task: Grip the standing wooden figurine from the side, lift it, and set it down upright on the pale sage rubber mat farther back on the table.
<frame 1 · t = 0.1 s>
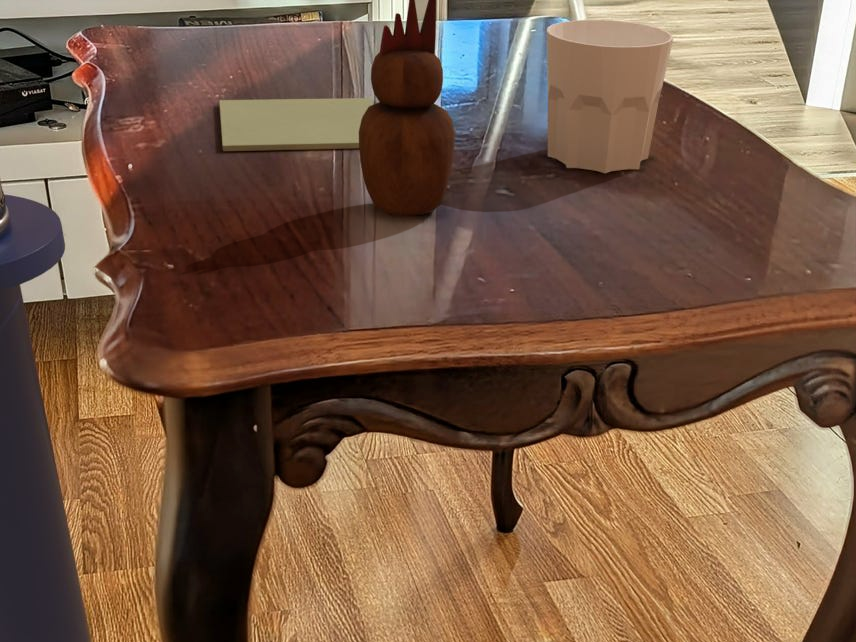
cup: (597, 159, 97), on the table
wooden figurine: (406, 211, 85), on the table
mat: (302, 125, 102), on the table
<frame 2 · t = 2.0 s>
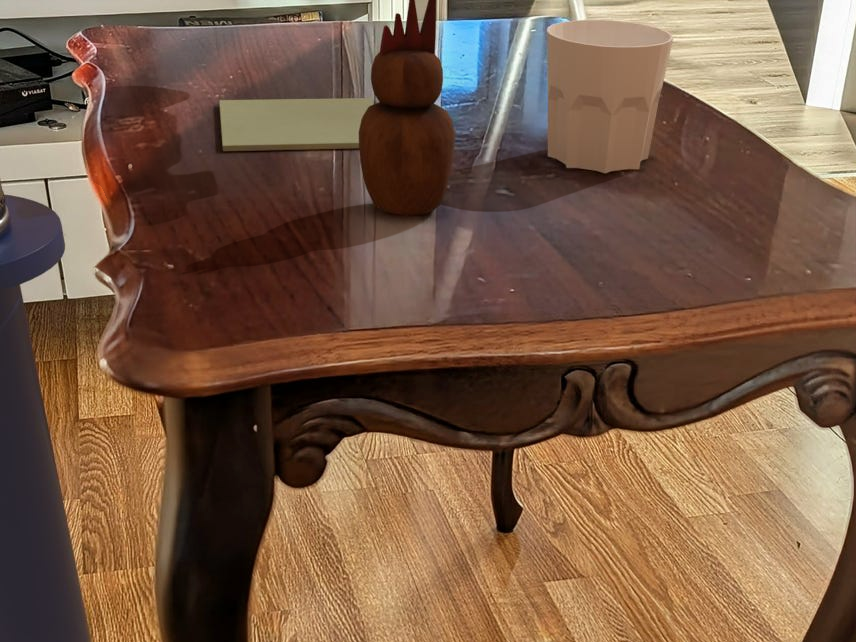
nothing on the table moved.
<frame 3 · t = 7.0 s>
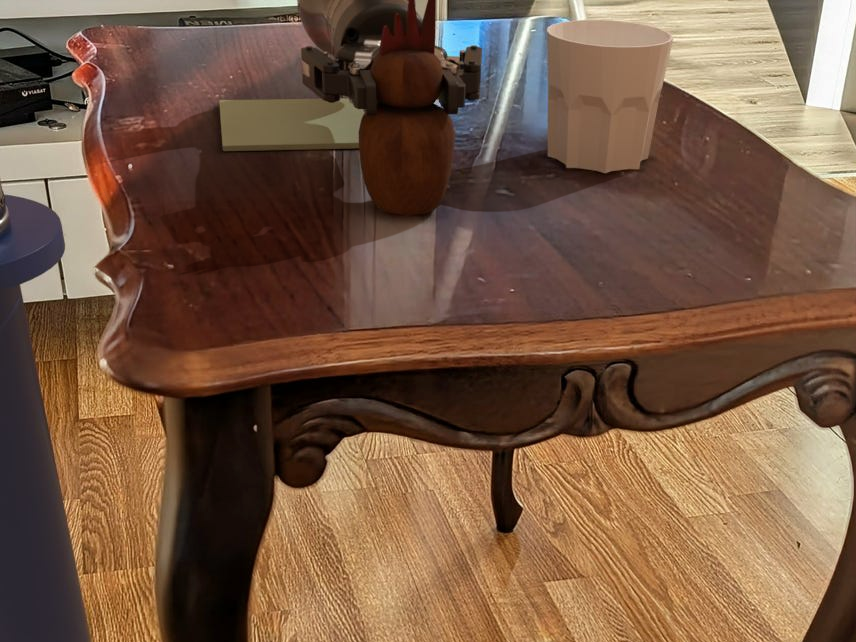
hand: (412, 99, 78), 9 cm above the table, tool horizontal, fingers closed on wooden figurine, 5 cm apart
wooden figurine: (406, 211, 85), on the table, touching gripper
everything else where it was.
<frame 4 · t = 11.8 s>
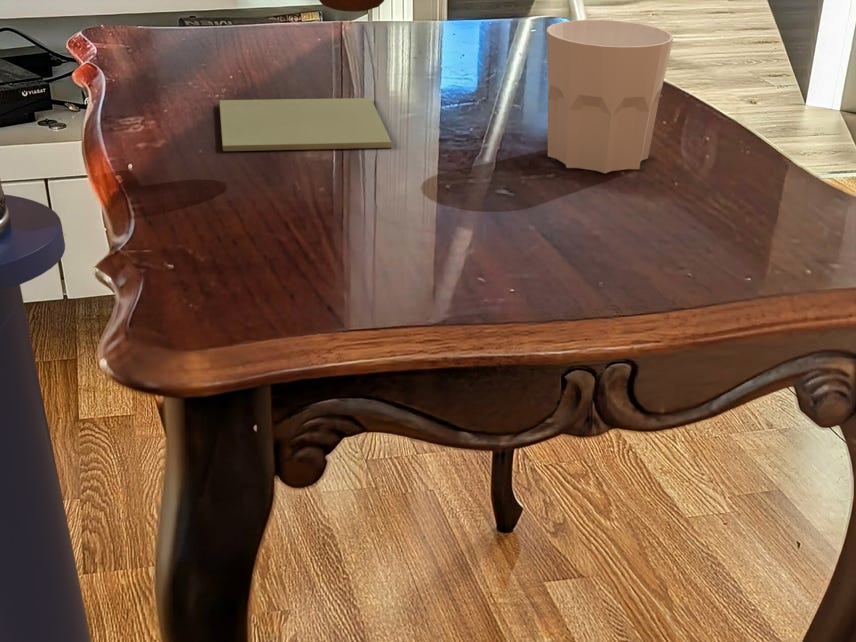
wooden figurine: (351, 10, 90), point 11 cm above the table, touching gripper
everything else where it was.
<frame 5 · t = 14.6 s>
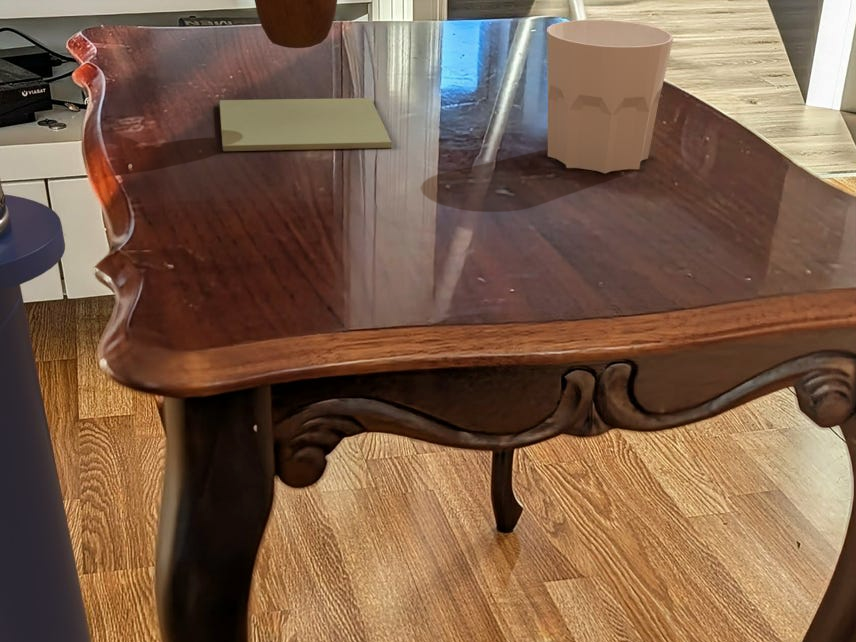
wooden figurine: (297, 46, 98), point 7 cm above the table, touching gripper
everything else where it was.
when the fingers open (9 cm above the table, at t = 16.8 s): wooden figurine stays where it is, resting on mat.
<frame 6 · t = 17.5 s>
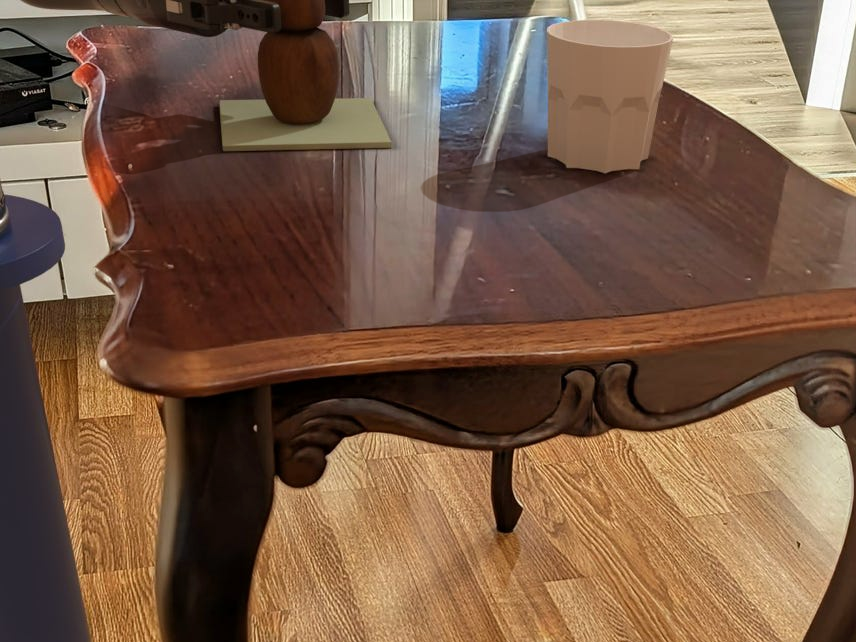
hand: (313, 11, 95), 10 cm above the table, tool horizontal, fingers open, 8 cm apart
wooden figurine: (301, 121, 101), resting on mat
everything else where it was.
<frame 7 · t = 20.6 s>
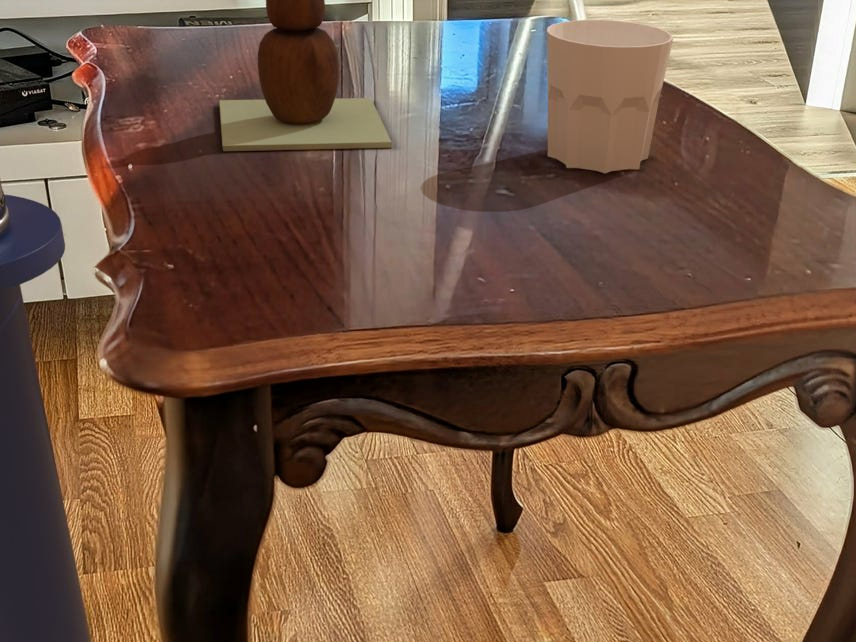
nothing on the table moved.
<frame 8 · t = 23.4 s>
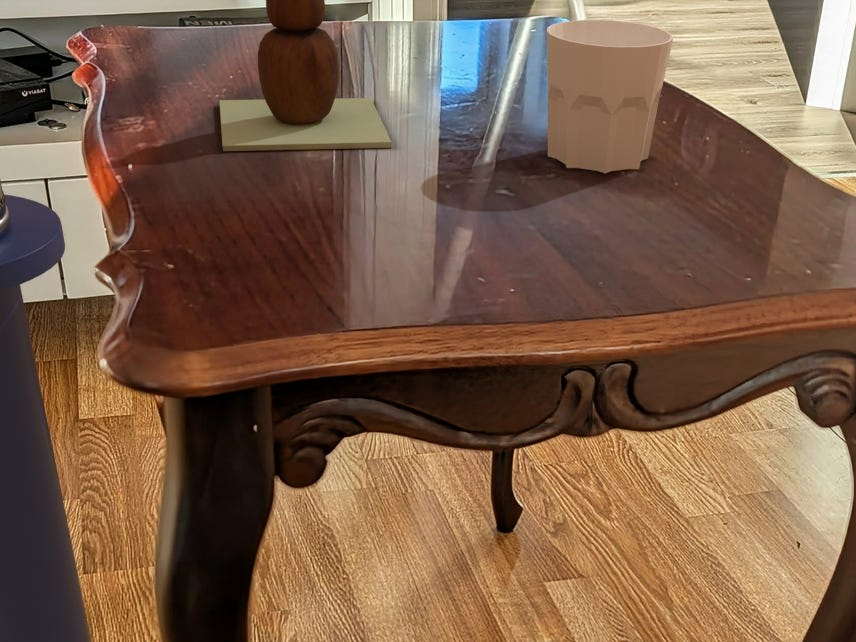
nothing on the table moved.
at the end: wooden figurine inside the target area on the mat (0.1 cm from its centre), point 0.3 cm above the mat's base; wooden figurine tilted 0°; the gripper is holding nothing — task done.
